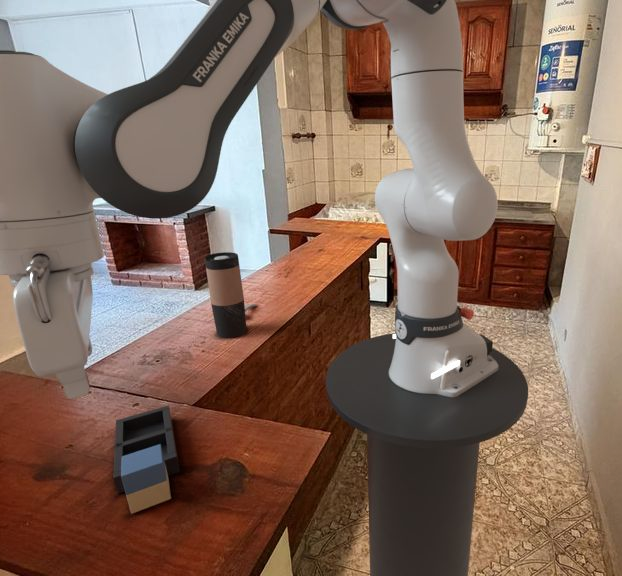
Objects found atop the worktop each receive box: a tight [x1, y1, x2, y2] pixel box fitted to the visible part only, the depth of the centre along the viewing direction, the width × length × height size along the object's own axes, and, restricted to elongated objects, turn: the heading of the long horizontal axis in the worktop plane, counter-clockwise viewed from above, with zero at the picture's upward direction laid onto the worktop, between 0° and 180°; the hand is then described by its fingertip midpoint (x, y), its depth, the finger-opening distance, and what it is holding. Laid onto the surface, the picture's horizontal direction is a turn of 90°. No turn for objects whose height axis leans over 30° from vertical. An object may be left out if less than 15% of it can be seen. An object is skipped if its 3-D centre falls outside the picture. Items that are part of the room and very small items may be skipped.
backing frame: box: [113, 405, 181, 495], centre depth 60 cm, size 8×14×3 cm, turn 31°
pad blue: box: [121, 444, 167, 496], centre depth 51 cm, size 4×4×3 cm
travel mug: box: [204, 251, 248, 339], centre depth 98 cm, size 8×8×20 cm
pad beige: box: [125, 465, 172, 515], centre depth 52 cm, size 4×4×3 cm
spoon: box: [245, 303, 257, 317], centre depth 113 cm, size 3×12×2 cm, turn 178°
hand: (81, 372), depth 42 cm, fingers open, 8 cm apart
